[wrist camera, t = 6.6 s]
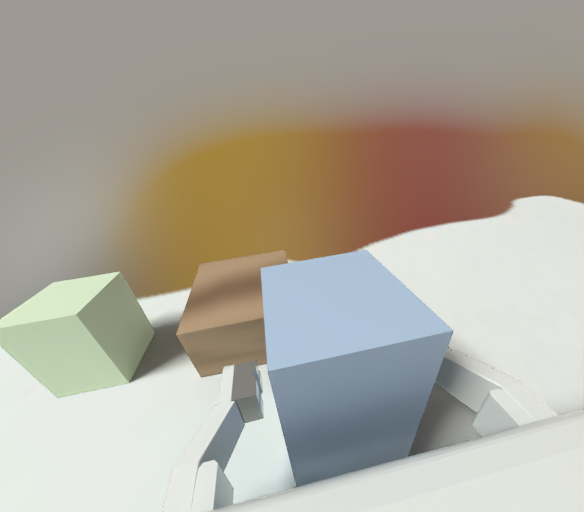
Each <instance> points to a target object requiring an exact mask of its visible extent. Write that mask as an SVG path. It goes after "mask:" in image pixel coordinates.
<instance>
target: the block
mask: <svg viewBox="0 0 584 512" xmlns="http://www.w3.org/2000/svg"><path fill="white" fill-rule="evenodd" d="M154 334H155V331H154V329H153V327H152V326H151V324H150V322H149V320H148V319H147V317H146V315H145V313H144V312H143V310H142V308H141V306H140V305H139V303H138V301H137V299H136V298H135V296H134V294H133V293H132V291H131V289H130V287H129V286H128V284H127V282H126V280H125V279H124V277H123V275H122V273H121V272H116V273H109V274H104V275H97V276H92V277H85V278H79V279H72V280H66V281H61V282H54V283H52V284H51V285H49V286H48V287H46V288H45V289H43V290H42V291H41V292H39V293H38V294H36V295H35V296H33V297H32V298H30V299H29V300H28V301H26V302H25V303H23V304H22V305H20V306H19V307H17V308H16V309H15V310H13V311H12V312H10V313H9V314H7V315H6V316H5V317H3V318H1V319H0V346H1V347H2V348H3V349H4V350H5V351H6V352H7V353H8V354H9V355H11V356H12V357H13V358H14V359H15V360H16V361H17V362H18V363H19V364H21V365H22V366H23V367H24V368H25V369H26V370H27V371H28V372H29V373H30V374H32V375H33V376H34V377H35V378H36V379H37V380H38V381H39V382H40V383H42V384H43V385H44V386H45V387H46V388H47V389H48V390H49V391H50V392H51V393H53V394H54V395H55V396H56V397H57V398H61V397H65V396H70V395H75V394H80V393H85V392H89V391H94V390H99V389H104V388H108V387H113V386H118V385H123V384H128V383H130V381H131V379H132V377H133V375H134V373H135V371H136V369H137V367H138V365H139V363H140V361H141V359H142V357H143V355H144V354H145V352H146V350H147V348H148V346H149V344H150V342H151V340H152V338H153V336H154Z"/></svg>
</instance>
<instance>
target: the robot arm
mask: <svg viewBox="0 0 584 512" xmlns="http://www.w3.org/2000/svg"><path fill="white" fill-rule="evenodd" d="M435 383H436V384H437V385H438V386H440V387H441V388H443V389H444V390H445V391H447V392H448V393H450V394H451V395H452V396H454V397H455V398H457V399H458V400H459V401H461V402H462V403H464V404H465V405H466V406H468V407H469V408H471V409H472V410H473V411H475V412H476V415H475V417H474V419H473V420H472V425H473V427H474V428H475V429H476V431H477V432H478V433H479V435H480V436H481V437H478V438H474V439H471V440H467V441H463V442H460V443H456V444H452V445H449V446H445V447H442V448H438V449H434V450H431V451H427V452H423V453H420V454H416V455H412V456H409V457H405V458H401V459H398V460H394V461H390V462H387V463H383V464H379V465H376V466H372V467H368V468H365V469H361V470H357V471H354V472H350V473H346V474H343V475H339V476H335V477H332V478H328V479H324V480H321V481H317V482H313V483H310V484H306V485H302V486H299V487H295V488H291V489H288V490H284V491H280V492H277V493H273V494H269V495H266V496H262V497H258V498H255V499H251V500H247V501H244V502H240V503H236V504H233V490H234V488H233V487H232V485H231V483H230V482H229V480H228V479H227V477H226V476H225V474H224V470H225V468H226V466H227V463H228V461H229V459H230V457H231V454H232V452H233V450H234V448H235V445H236V443H237V441H238V439H239V437H240V434H241V432H242V430H243V428H244V425H245V424H244V423H248V422H251V421H255V420H259V419H263V418H264V416H263V400H262V397H261V394H262V392H263V390H262V378H261V373H260V371H259V370H258V363H257V360H256V361H251V362H245V363H240V364H235V365H230V366H225V367H224V369H223V372H222V379H221V387H220V394H219V402H218V404H217V405H215V406H214V407H213V409H212V410H211V412H210V413H209V415H208V416H207V418H206V419H205V421H204V422H203V424H202V425H201V427H200V428H199V430H198V431H197V433H196V434H195V436H194V437H193V439H192V440H191V442H190V443H189V445H188V446H187V448H186V449H185V451H184V452H183V454H182V455H181V457H180V458H179V460H178V461H177V463H176V464H175V466H174V467H173V469H172V473H171V477H170V481H169V485H168V489H167V493H166V497H165V501H164V505H163V509H162V512H584V409H581V410H577V411H573V412H570V413H566V414H562V415H558V414H557V413H556V412H555V411H553V410H552V409H551V408H550V407H549V406H548V405H547V404H545V403H544V402H543V401H542V400H541V399H540V398H539V397H538V396H536V395H535V394H534V393H533V392H532V391H531V390H530V389H529V388H527V387H526V386H525V385H524V384H523V383H522V382H520V381H518V380H516V379H514V378H512V377H510V376H508V375H506V374H504V373H502V372H500V371H498V370H495V369H493V368H491V367H489V366H487V365H485V364H483V363H481V362H479V361H477V360H475V359H473V358H471V357H468V356H466V355H464V354H462V353H460V352H458V351H456V350H454V351H452V350H451V349H450V348H449V347H447V350H446V353H445V355H444V358H443V361H442V364H441V366H440V369H439V372H438V375H437V377H436V380H435Z"/></svg>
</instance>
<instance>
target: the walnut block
mask: <svg viewBox="0 0 584 512" xmlns="http://www.w3.org/2000/svg"><path fill="white" fill-rule="evenodd" d="M287 263H288V261H287V258H286V254H285V251H284V250H282V251H277V252H270V253H264V254H259V255H252V256H246V257H240V258H234V259H228V260H222V261H216V262H210V263H203V264H200V266H199V269H198V272H197V275H196V278H195V281H194V284H193V286H192V289H191V292H190V295H189V298H188V301H187V304H186V307H185V310H184V313H183V315H182V318H181V321H180V324H179V327H178V330H177V333H176V336H177V338H178V339H179V341H180V343H181V344H182V346H183V348H184V350H185V351H186V353H187V355H188V356H189V358H190V360H191V361H192V363H193V365H194V366H195V368H196V370H197V371H198V373H199V375H200V376H201V377H206V376H211V375H215V374H220V373H222V372H223V369H224V367H225V366H230V365H235V364H240V363H245V362H251V361H256V360H257V363H258V365H262V364H267V354H266V340H265V325H264V311H263V296H262V282H261V268H263V267H269V266H275V265H281V264H287Z"/></svg>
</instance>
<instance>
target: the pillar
mask: <svg viewBox="0 0 584 512" xmlns="http://www.w3.org/2000/svg"><path fill="white" fill-rule="evenodd" d="M261 282H262V296H263V311H264V325H265V340H266V354H267V369H268V375H269V379H270V383H271V387H272V391H273V395H274V399H275V403H276V407H277V411H278V415H279V419H280V423H281V427H282V431H283V435H284V439H285V443H286V447H287V451H288V455H289V459H290V463H291V467H292V471H293V475H294V479H295V483H296V487H299V486H302V485H306V484H310V483H313V482H317V481H321V480H324V479H328V478H332V477H335V476H339V475H343V474H346V473H350V472H354V471H357V470H361V469H365V468H368V467H372V466H376V465H379V464H383V463H387V462H390V461H394V460H398V459H401V458H405V457H408V454H409V452H410V449H411V446H412V443H413V441H414V438H415V435H416V432H417V430H418V427H419V424H420V421H421V419H422V416H423V413H424V410H425V408H426V405H427V402H428V399H429V397H430V394H431V391H432V388H433V386H434V383H435V380H436V377H437V375H438V372H439V369H440V366H441V364H442V361H443V358H444V355H445V353H446V350H447V347H448V344H449V342H450V339H451V336H452V333H453V330H452V329H451V328H450V327H449V326H448V325H447V324H446V323H445V322H444V321H443V320H441V319H440V318H439V317H438V316H437V315H436V314H435V313H434V312H433V311H432V310H431V309H430V308H428V307H427V306H426V305H425V304H424V303H423V302H422V301H421V300H420V299H419V298H418V297H417V296H416V295H414V294H413V293H412V292H411V291H410V290H409V289H408V288H407V287H406V286H405V285H404V284H403V283H401V282H400V281H399V280H398V279H397V278H396V277H395V276H394V275H393V274H392V273H391V272H390V271H389V270H387V269H386V268H385V267H384V266H383V265H382V264H381V263H380V262H379V261H378V260H377V259H376V258H374V257H373V256H372V255H371V254H370V253H369V252H368V251H367V250H362V251H357V252H351V253H345V254H339V255H333V256H327V257H322V258H316V259H311V260H305V261H298V262H293V263H287V264H281V265H275V266H269V267H263V268H261Z"/></svg>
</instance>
